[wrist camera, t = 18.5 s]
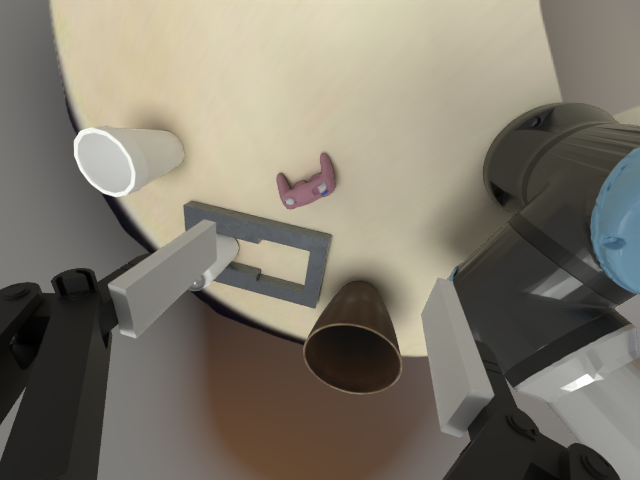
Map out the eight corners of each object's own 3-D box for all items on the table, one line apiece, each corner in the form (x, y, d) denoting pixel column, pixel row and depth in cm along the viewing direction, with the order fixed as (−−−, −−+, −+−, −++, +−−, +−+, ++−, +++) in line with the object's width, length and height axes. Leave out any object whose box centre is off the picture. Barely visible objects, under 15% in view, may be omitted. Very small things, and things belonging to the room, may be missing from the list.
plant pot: (340, 330, 61) (327, 398, 47) (311, 275, 56) (286, 334, 42) (408, 316, 55) (415, 389, 42) (382, 255, 51) (381, 315, 37)
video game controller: (289, 190, 50) (286, 218, 46) (274, 172, 47) (270, 201, 43) (338, 169, 47) (340, 197, 42) (326, 148, 44) (327, 176, 39)
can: (232, 263, 59) (199, 299, 48) (206, 246, 58) (166, 278, 48) (244, 242, 56) (212, 276, 45) (217, 224, 55) (178, 253, 44)
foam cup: (137, 151, 51) (67, 166, 40) (154, 108, 47) (80, 112, 36) (180, 185, 53) (124, 209, 41) (200, 146, 48) (144, 161, 37)
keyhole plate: (331, 234, 51) (329, 241, 49) (317, 300, 58) (315, 308, 56) (191, 200, 54) (183, 205, 51) (196, 267, 61) (189, 274, 59)
